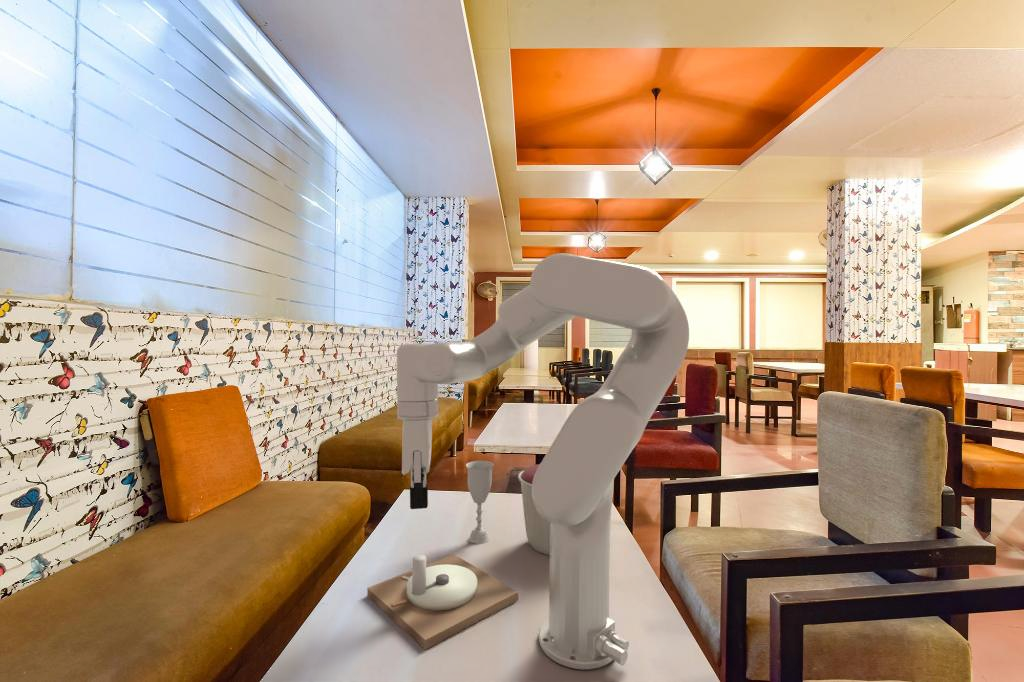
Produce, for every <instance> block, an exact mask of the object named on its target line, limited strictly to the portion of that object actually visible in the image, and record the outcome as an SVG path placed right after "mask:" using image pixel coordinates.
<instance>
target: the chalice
mask: <svg viewBox="0 0 1024 682" xmlns="http://www.w3.org/2000/svg"><path fill="white" fill-rule="evenodd" d="M494 465H495V463H493V462H492V461H487V460H474V461H469V462H467V463H466V464H465V466H466V469H467V488H468V491H469V493H470V496H471V498H472V500H473V503H475V504H476V505H477V507H476V508H477V509H476V511H475V512H476V514H477V516H476V518H475V520H476V523H477V524H476V527H474V528H473V529H472V530H471V532H470V535H469V537H468V541H469V542H470V543H472V544H477V545H479V544H486V543H487V542H489V541H490V537H489V533H488V531H487V529H486V528H484V527H483V526H482V521H483V520H484V519H483V517H482V514H483V509H482V504H483V503H486V500H487V498H488V495H489V494H490V491H491V488H492V485H493V477H492V476H493V467H494Z"/></svg>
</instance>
